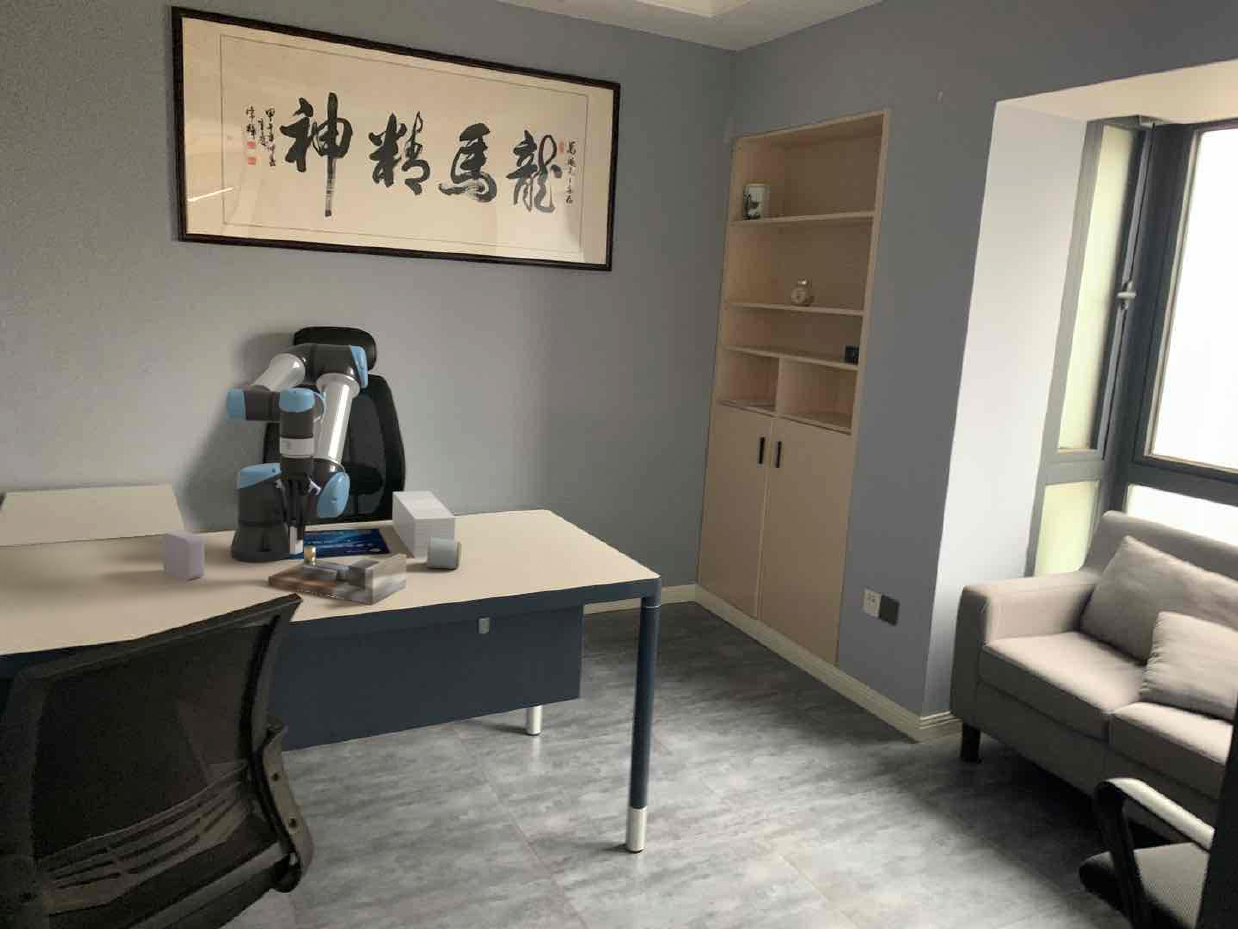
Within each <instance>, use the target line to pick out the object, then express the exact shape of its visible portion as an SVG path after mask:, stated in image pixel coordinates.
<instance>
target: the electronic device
mask: <svg viewBox="0 0 1238 929" xmlns="http://www.w3.org/2000/svg"><path fill="white" fill-rule="evenodd" d="M161 540H162V566H163V572H164V573H165V575H166V574H167V575H169V576H172V577H173V578H178V579H180V580H184V581H191V580H193V579H194V580H195V579H198V578H201V577H203V576H204V574H205V571H206V570H205V569H206V568H205V540H204V538H203V537H202V536H199V535H197V534H194V533H189V532H188V531H183V530H179V529H178V530H174V531H173V530H172V531H170V532H164V533H162V539H161Z"/></svg>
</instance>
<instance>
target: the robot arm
mask: <svg viewBox="0 0 1238 929" xmlns="http://www.w3.org/2000/svg"><path fill="white" fill-rule="evenodd" d="M368 378H369V377H368V362H367V356H366V351H365V349H364V348H362V347H361V346H359V345H358V346H356V345H350V344H348V345H342V344H341V345H340V344H339V345H338V344H327V343H326V344H324V343H313V342H312V343H311V342H310V343H309V342H306V343H301V344H297V345H293V346H290V347H289V348H286V349H284V350H282V351H280V352H279V353H278V354H276V355H275V356H274V357H273V358H271V360H270V362H269V365H268V368H267V369H266V370H264V372H263V373H262V374H261V375H259V377H258V378H256V379H255V380H254V382H253V383H251V384H250V385H249V386H248V388H246V389H243V388H239V389H235V388H234V389H230V390H229V391H228V392H227V396H226V399H225V412H226V415H227V417H228V418H229V419H230V420H232V421H240V422H244V423H245V422H253V423H254V422H257V423H262V422H263V423H279V453H280V454H281V455H280V456H279V462H271V463H270V462H269V463H260V464H255V465H250V466H247V467H244V468H242V469H241V470H239V471H238V473H237V479H236V480H237V481H236V482H237V483H236V487H235V488H236V502H237V504H236V508H237V510H236V511H237V516H236V517H237V524H236V529H235V532H234V535H233V538H232V541H231V542H232V543H231V544H230V557H231V558H233V559H234V560H238V561H241V562H248V563H263V562H264V563H266V562H267V563H269V562H275V561H281V560H283V559H287V558H289V557H291V556H292V555H298V554H301V553H302V552H303V553H304V540H306V539H305V538H306V526H309V525H312V524H313V523H314V519H315V518H320V519H325V518H336V517H338V516H340V515H342V513H343V512H344V510H345V508H346V505H347V503H348V502H347V501H348V499H349V496H350V495H349V491H350V487H351V486H350V483H351V482H350V476H349V475H348V473H346V470H345V467H344V466H343V465H342V464H341V463H342V458H343V453H344V452H343V451H344V446H345V441H346V434H347V432H348V431H347V429H348V425H349V424H348V423H349V419H350V413H351V409H352V408H351V407H352V402H353V399H355V398H356V397H358V395H359V393H360V389H365V388H367V386H368V383H369V381H368V380H369V379H368ZM299 385H311V386H316V388H317V390H318V391H319V393H318V392H315V391H314V390H311V389H310V388H305V387H304V388H303V387H297V386H299Z"/></svg>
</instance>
